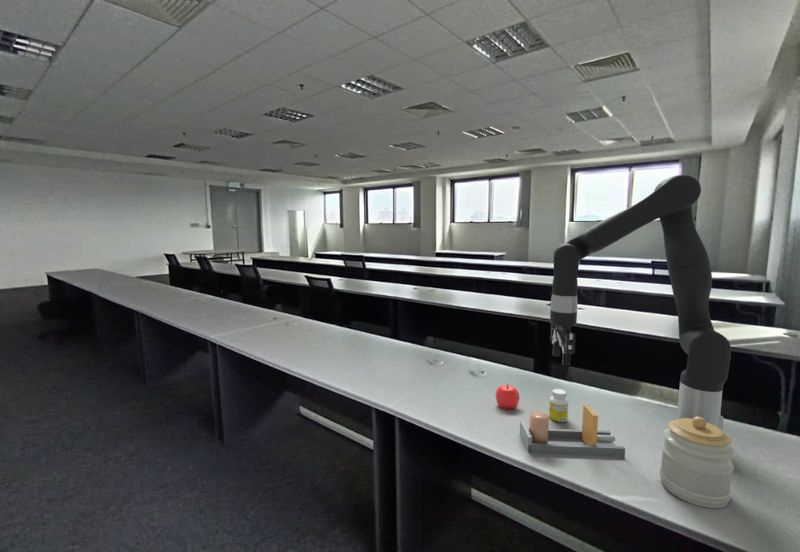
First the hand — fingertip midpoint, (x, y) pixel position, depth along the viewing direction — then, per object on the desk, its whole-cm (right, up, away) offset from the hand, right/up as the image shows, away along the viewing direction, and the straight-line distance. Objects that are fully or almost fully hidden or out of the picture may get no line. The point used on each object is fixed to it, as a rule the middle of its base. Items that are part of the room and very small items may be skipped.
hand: (561, 360), depth 117 cm
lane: (-3, -21, -12) cm, 25 cm away
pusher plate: (+5, -20, -13) cm, 25 cm away
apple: (-13, -19, +12) cm, 26 cm away
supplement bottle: (0, -20, +2) cm, 20 cm away
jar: (+18, -24, -30) cm, 42 cm away
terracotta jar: (-11, -20, -12) cm, 26 cm away
